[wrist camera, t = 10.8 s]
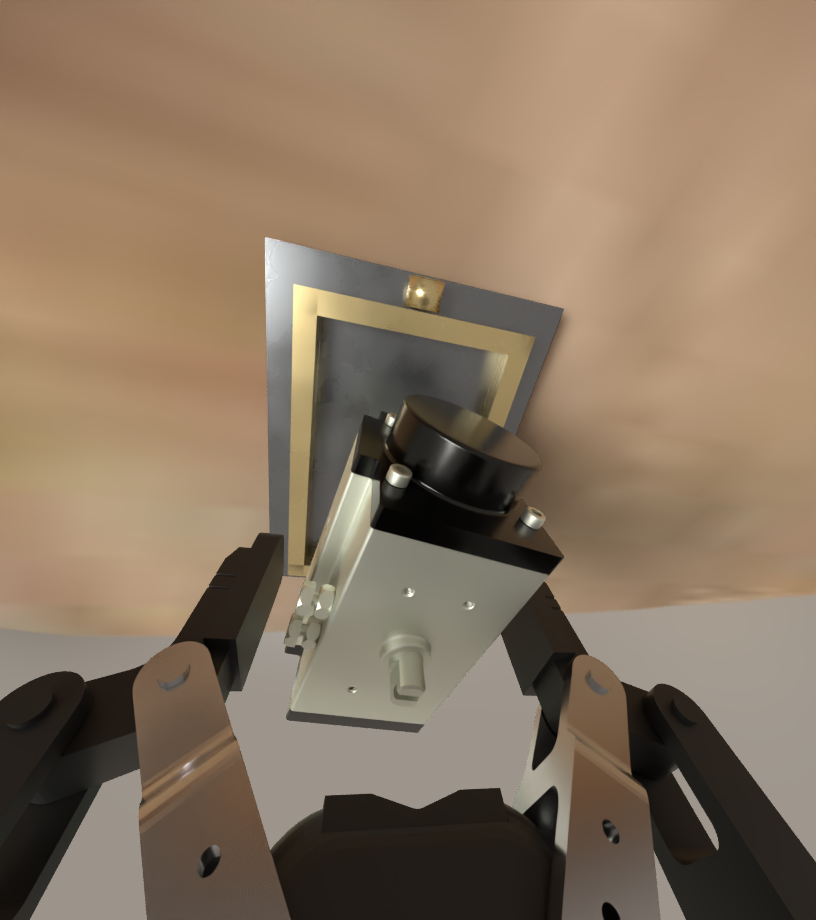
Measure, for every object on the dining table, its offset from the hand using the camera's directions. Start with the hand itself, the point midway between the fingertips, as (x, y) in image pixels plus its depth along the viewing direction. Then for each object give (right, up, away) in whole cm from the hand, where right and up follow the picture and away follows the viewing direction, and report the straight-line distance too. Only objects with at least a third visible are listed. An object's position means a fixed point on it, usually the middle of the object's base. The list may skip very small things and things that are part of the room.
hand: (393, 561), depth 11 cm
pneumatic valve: (-1, +4, +7) cm, 8 cm away
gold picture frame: (-1, +4, +8) cm, 9 cm away
